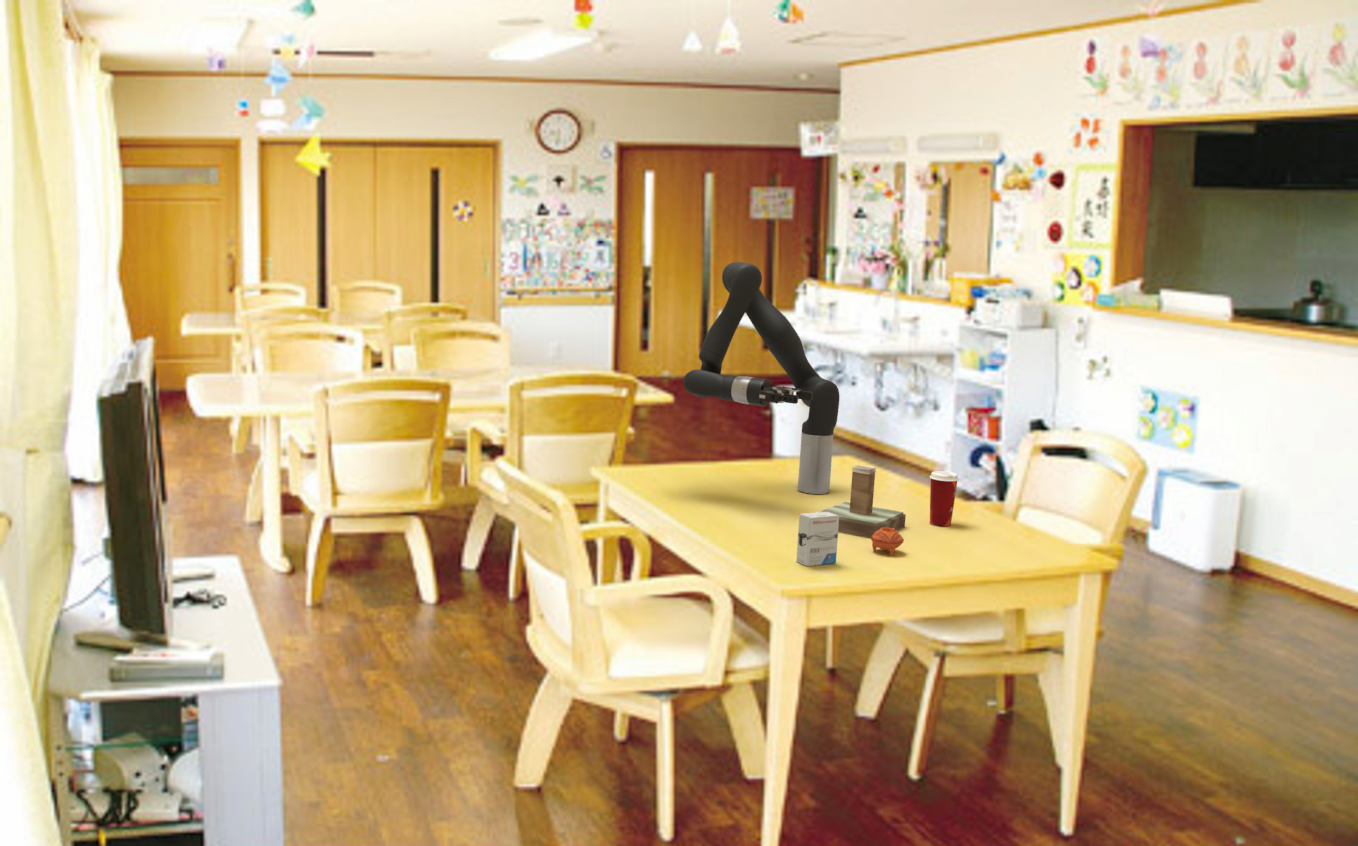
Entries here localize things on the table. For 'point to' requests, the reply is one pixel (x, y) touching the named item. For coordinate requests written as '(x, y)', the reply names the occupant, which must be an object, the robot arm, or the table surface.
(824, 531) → the ink box
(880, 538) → the pot
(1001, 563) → the table surface
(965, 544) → the table surface
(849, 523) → the block
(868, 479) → the block
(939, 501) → the paper cup
